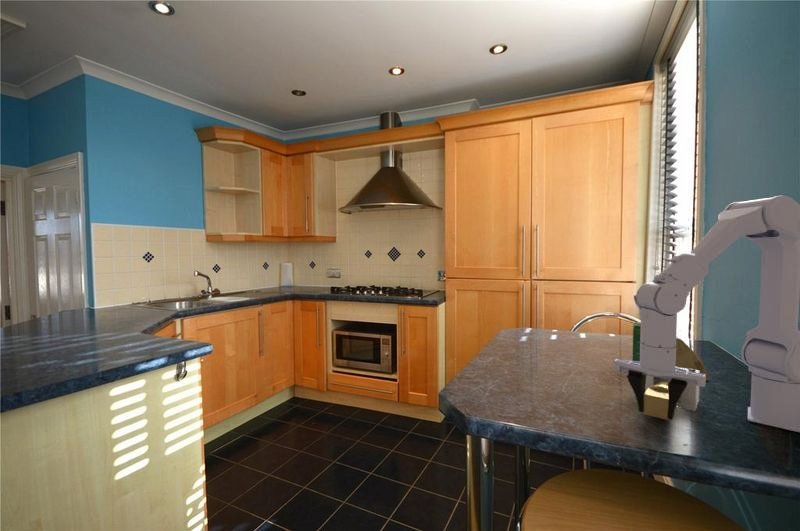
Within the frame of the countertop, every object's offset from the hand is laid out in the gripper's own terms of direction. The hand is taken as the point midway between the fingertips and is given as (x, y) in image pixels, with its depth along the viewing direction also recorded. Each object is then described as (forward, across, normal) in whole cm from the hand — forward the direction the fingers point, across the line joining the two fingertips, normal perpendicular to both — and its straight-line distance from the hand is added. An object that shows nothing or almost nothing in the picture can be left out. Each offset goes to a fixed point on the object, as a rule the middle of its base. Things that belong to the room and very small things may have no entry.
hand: (655, 413), depth 73 cm
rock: (+2, 0, +38) cm, 39 cm away
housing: (+2, 0, +16) cm, 16 cm away
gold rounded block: (+2, 0, +5) cm, 5 cm away
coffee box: (+2, -10, +38) cm, 39 cm away
